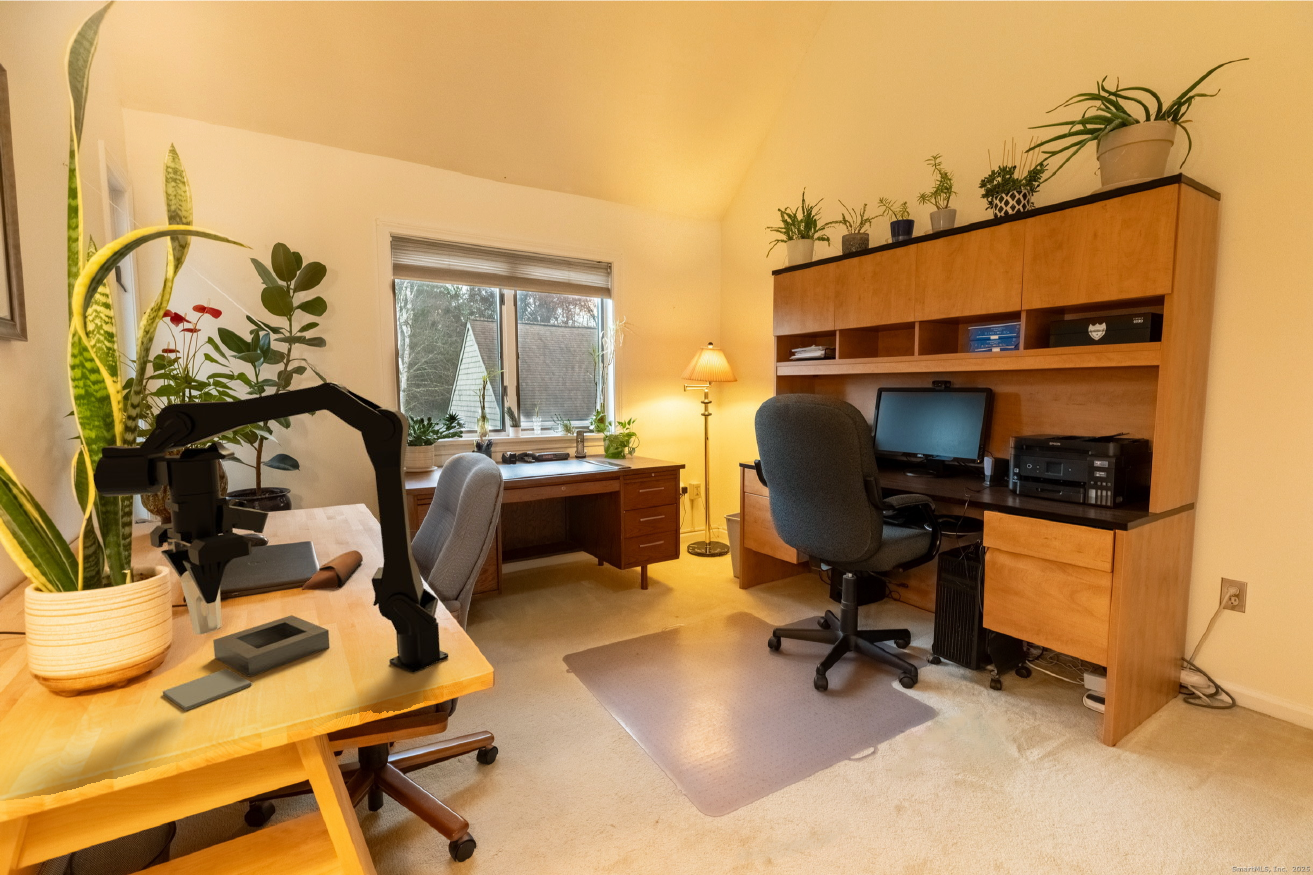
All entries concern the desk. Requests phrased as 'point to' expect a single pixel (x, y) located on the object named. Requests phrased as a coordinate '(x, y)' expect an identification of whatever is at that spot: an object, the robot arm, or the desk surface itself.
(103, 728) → the desk surface
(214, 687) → the pad
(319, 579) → the sunglasses case
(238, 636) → the collar
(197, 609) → the milkshake
